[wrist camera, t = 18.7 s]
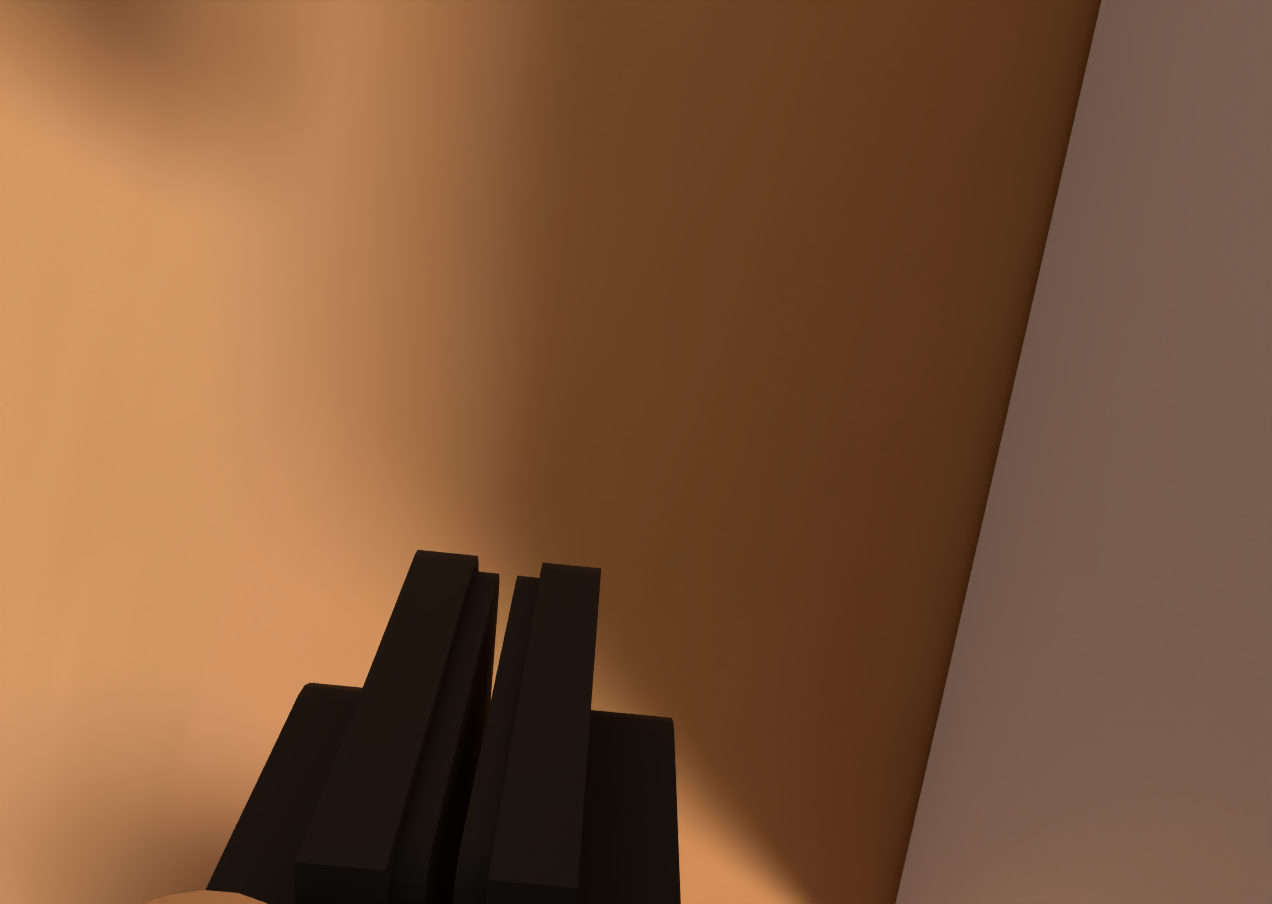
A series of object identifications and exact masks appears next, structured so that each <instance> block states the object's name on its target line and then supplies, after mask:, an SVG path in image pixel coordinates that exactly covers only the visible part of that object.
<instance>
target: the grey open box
mask: <svg viewBox="0 0 1272 904" xmlns="http://www.w3.org/2000/svg"><path fill="white" fill-rule="evenodd" d="M896 904H1272V0H1101V5H1100V9H1099V13H1098V18H1097V22H1096V27H1095V31H1094V35H1093V40H1092V44H1091V49H1090V53H1089V57H1088V62H1087V66H1086V70H1085V75H1084V79H1083V84H1082V88H1081V92H1080V97H1079V101H1078V106H1077V110H1076V114H1075V119H1074V123H1073V127H1072V132H1071V136H1070V141H1069V145H1068V149H1067V154H1066V158H1065V163H1064V167H1063V171H1062V176H1061V180H1060V184H1059V189H1058V193H1057V198H1056V202H1055V206H1054V211H1053V215H1052V220H1051V224H1050V228H1049V233H1048V237H1047V241H1046V246H1045V250H1044V255H1043V259H1042V263H1041V268H1040V272H1039V277H1038V281H1037V285H1036V290H1035V294H1034V298H1033V303H1032V307H1031V312H1030V316H1029V320H1028V325H1027V329H1026V334H1025V338H1024V342H1023V347H1022V351H1021V355H1020V360H1019V364H1018V369H1017V373H1016V377H1015V382H1014V386H1013V391H1012V395H1011V399H1010V404H1009V408H1008V413H1007V417H1006V421H1005V426H1004V430H1003V434H1002V439H1001V443H1000V448H999V452H998V456H997V461H996V465H995V470H994V474H993V478H992V483H991V487H990V491H989V496H988V500H987V505H986V509H985V513H984V518H983V522H982V527H981V531H980V535H979V540H978V544H977V548H976V553H975V557H974V562H973V566H972V570H971V575H970V579H969V584H968V588H967V592H966V597H965V601H964V605H963V610H962V614H961V619H960V623H959V627H958V632H957V636H956V641H955V645H954V649H953V654H952V658H951V662H950V667H949V671H948V676H947V680H946V684H945V689H944V693H943V698H942V702H941V706H940V711H939V715H938V719H937V724H936V728H935V733H934V737H933V741H932V746H931V750H930V755H929V759H928V763H927V768H926V772H925V776H924V781H923V785H922V790H921V794H920V798H919V803H918V807H917V812H916V816H915V820H914V825H913V829H912V834H911V838H910V842H909V847H908V851H907V855H906V860H905V864H904V869H903V873H902V877H901V882H900V886H899V891H898V895H897V899H896Z"/></svg>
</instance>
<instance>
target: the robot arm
mask: <svg viewBox="0 0 1272 904" xmlns="http://www.w3.org/2000/svg"><path fill="white" fill-rule="evenodd" d="M478 570H479V562H478V556H473V555H463V554H453V553H444V552H434V551H424V550H417V552H416V554H415V556H414V558H413V561H412V564H411V566H410V569H409V571H408V574H407V576H406V579H405V581H404V584H403V586H402V589H401V592H400V594H399V597H398V599H397V602H396V604H395V607H394V609H393V612H392V614H391V617H390V620H389V622H388V625H387V627H386V630H385V632H384V635H383V637H382V640H381V643H380V645H379V648H378V650H377V653H376V655H375V658H374V660H373V663H372V665H371V668H370V671H369V673H368V676H367V678H366V681H365V683H364V686H363V688H359V687H349V686H339V685H328V684H318V683H308V684H307V685H305V686H304V687H303V689H302V690H301V692H300V694H299V695H298V697H297V699H296V701H295V703H294V705H293V707H292V710H291V712H290V714H289V716H288V718H287V720H286V722H285V724H284V726H283V728H282V731H281V733H280V735H279V737H278V739H277V741H276V743H275V745H274V747H273V749H272V752H271V754H270V756H269V758H268V760H267V762H266V764H265V766H264V768H263V770H262V772H261V775H260V777H259V779H258V781H257V783H256V785H255V787H254V789H253V791H252V793H251V796H250V798H249V800H248V802H247V804H246V806H245V808H244V810H243V812H242V814H241V817H240V819H239V821H238V823H237V825H236V827H235V829H234V831H233V833H232V835H231V838H230V840H229V842H228V844H227V846H226V848H225V850H224V852H223V854H222V856H221V858H220V861H219V863H218V865H217V867H216V869H215V871H214V873H213V875H212V877H211V879H210V882H209V884H208V886H207V888H206V890H201V891H193V892H186V893H179V894H172V895H166V896H163V897H161V898H158V899H155V900H152V901H149V902H146V903H144V904H681V900H680V873H679V847H678V820H677V794H676V767H675V740H674V725H673V720H672V718H667V717H657V716H647V715H636V714H626V713H616V712H606V711H595V710H591V699H592V685H593V671H594V658H595V644H596V631H597V617H598V604H599V590H600V576H601V568H591V567H581V566H571V565H561V564H552V563H542V568H541V574H540V578H535V577H525V576H517V580H516V584H515V589H514V594H513V599H512V603H511V608H510V613H509V618H508V622H507V627H506V632H505V636H504V641H503V646H502V651H501V655H500V660H499V665H498V670H497V674H496V679H495V684H494V689H493V693H492V698H491V689H492V676H493V662H494V649H495V636H496V622H497V609H498V596H499V574H496V573H486V572H478Z"/></svg>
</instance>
